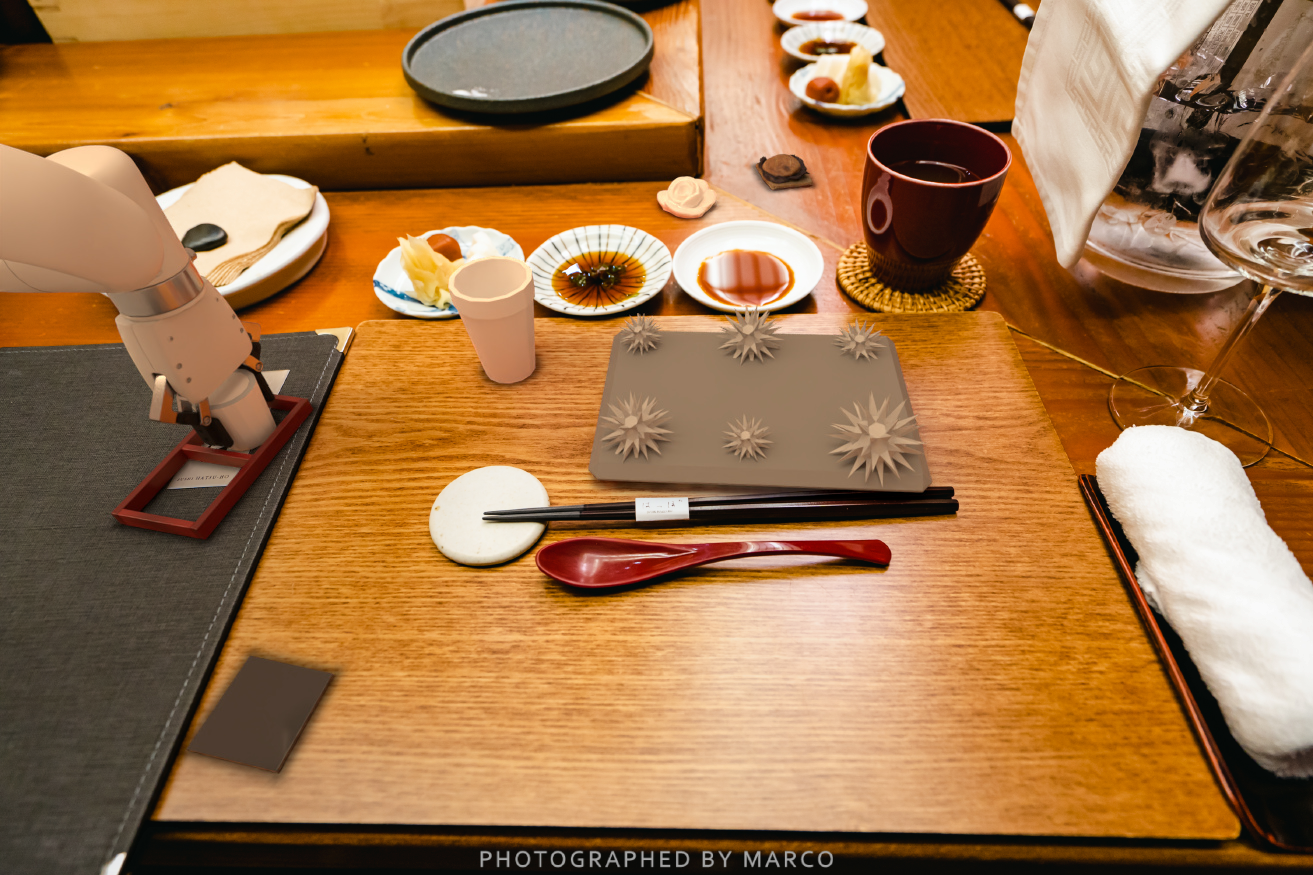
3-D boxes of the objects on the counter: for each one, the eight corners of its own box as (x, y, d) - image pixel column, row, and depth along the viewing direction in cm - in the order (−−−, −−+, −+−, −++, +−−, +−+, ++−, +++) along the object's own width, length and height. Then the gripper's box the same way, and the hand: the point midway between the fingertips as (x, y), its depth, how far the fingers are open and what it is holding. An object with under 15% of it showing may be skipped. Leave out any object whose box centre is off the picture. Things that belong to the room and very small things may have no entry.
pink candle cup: (208, 434, 79) (177, 388, 74) (267, 404, 82) (240, 359, 77) (232, 464, 75) (200, 419, 70) (292, 432, 78) (265, 387, 73)
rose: (716, 167, 115) (718, 193, 108) (715, 192, 118) (717, 219, 111) (657, 167, 115) (655, 194, 108) (658, 192, 118) (656, 219, 112)
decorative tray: (888, 350, 86) (907, 282, 79) (931, 510, 68) (960, 441, 61) (616, 342, 89) (610, 276, 82) (587, 495, 71) (577, 427, 64)
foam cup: (495, 338, 90) (474, 251, 81) (559, 350, 88) (545, 262, 79) (459, 384, 84) (432, 294, 74) (527, 398, 82) (508, 307, 72)
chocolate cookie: (815, 187, 119) (818, 166, 116) (768, 191, 118) (770, 170, 115) (796, 161, 126) (799, 141, 123) (752, 165, 125) (754, 145, 122)
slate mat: (278, 773, 52) (276, 771, 52) (188, 750, 53) (186, 748, 53) (334, 675, 58) (332, 673, 57) (251, 657, 59) (249, 655, 59)
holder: (313, 409, 81) (308, 398, 80) (205, 540, 68) (196, 529, 67) (240, 398, 83) (233, 387, 81) (120, 524, 70) (109, 513, 68)
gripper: (185, 237, 71) (260, 368, 84) (47, 336, 59) (160, 472, 72) (247, 243, 70) (314, 376, 82) (120, 346, 58) (221, 483, 71)
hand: (242, 420), depth 77 cm, fingers closed on pink candle cup, 6 cm apart
